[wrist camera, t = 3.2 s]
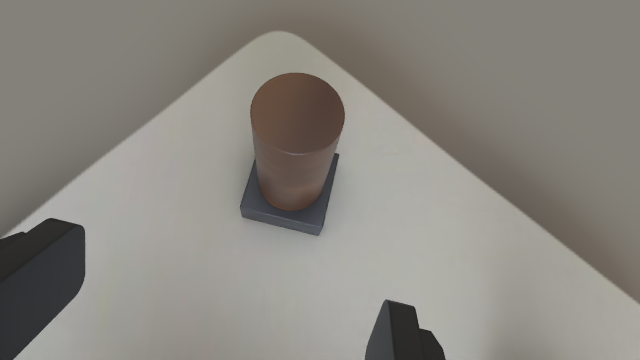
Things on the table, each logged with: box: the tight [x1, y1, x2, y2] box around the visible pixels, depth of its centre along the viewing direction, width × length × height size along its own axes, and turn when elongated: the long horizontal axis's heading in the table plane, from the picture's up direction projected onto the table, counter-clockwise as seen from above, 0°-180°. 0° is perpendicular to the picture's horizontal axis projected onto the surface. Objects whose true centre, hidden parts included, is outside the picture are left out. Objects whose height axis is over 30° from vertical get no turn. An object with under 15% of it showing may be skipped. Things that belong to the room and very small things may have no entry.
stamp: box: [240, 73, 345, 236], centre depth 22 cm, size 5×5×10 cm
